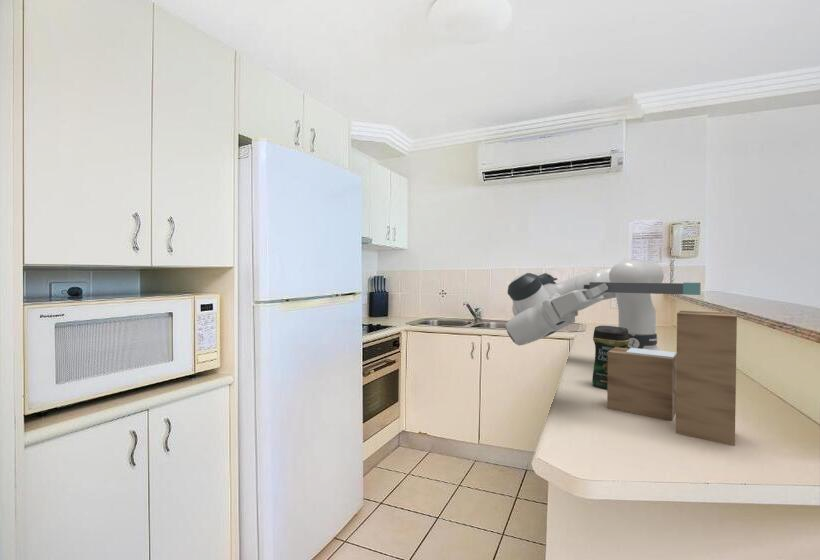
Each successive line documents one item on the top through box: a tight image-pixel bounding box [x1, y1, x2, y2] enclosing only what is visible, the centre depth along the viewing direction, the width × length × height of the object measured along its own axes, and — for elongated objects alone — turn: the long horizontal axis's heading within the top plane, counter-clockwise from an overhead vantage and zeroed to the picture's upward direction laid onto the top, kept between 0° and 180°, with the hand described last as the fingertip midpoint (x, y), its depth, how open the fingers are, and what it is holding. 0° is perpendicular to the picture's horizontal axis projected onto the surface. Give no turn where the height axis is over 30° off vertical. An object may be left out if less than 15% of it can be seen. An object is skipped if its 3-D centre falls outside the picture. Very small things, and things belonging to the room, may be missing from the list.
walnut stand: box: [606, 310, 738, 446], centre depth 95 cm, size 16×26×26 cm, turn 51°
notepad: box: [626, 348, 677, 359], centre depth 100 cm, size 7×10×1 cm
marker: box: [584, 281, 702, 296], centre depth 95 cm, size 3×24×3 cm, turn 51°
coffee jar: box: [591, 325, 629, 390], centre depth 122 cm, size 10×8×19 cm
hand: (609, 285), depth 99 cm, fingers closed on marker, 2 cm apart
